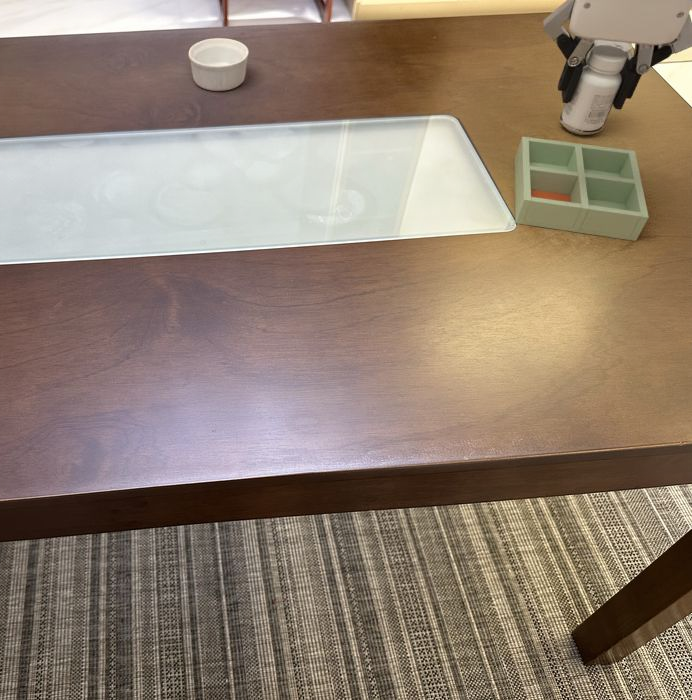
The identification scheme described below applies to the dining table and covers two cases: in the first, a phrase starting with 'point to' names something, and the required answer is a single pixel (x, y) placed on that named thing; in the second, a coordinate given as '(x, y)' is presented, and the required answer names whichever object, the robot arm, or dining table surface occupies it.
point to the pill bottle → (595, 89)
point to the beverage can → (621, 45)
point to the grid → (579, 188)
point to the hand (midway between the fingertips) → (591, 98)
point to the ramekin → (218, 63)
